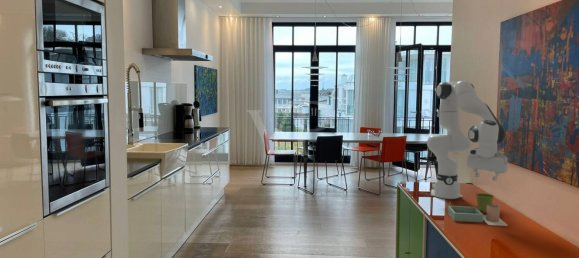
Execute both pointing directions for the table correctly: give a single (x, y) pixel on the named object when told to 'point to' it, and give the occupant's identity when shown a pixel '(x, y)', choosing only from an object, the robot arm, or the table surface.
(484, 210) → the plant pot
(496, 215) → the seedling pot
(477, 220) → the frame
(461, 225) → the table surface
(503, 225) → the mat
